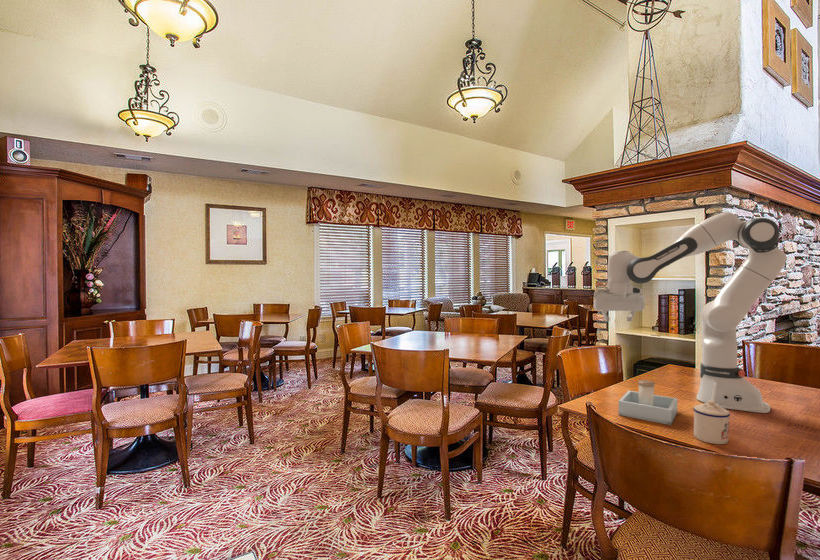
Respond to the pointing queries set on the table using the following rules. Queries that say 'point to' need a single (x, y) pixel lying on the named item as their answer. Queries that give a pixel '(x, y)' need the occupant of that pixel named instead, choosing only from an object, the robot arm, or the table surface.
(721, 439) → the teacup with lid
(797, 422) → the table surface
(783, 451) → the table surface
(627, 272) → the robot arm
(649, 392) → the dressing jar
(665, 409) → the serving bin
